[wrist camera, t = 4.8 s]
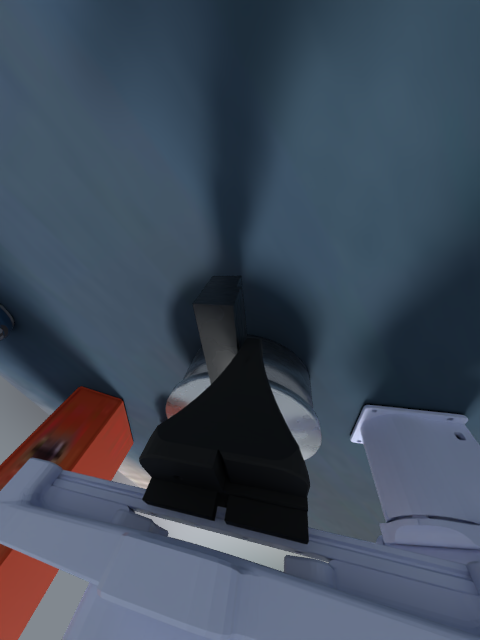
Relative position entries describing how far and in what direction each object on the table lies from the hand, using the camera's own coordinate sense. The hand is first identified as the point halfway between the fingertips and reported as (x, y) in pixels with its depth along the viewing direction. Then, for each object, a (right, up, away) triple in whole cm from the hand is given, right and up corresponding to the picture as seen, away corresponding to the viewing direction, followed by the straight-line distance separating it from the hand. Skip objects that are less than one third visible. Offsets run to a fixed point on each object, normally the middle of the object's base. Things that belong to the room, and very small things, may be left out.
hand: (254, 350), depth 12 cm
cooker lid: (-1, -5, +6) cm, 8 cm away
